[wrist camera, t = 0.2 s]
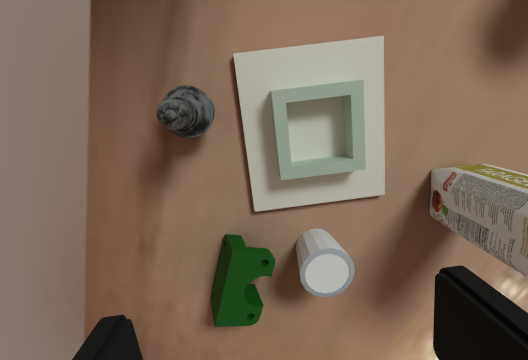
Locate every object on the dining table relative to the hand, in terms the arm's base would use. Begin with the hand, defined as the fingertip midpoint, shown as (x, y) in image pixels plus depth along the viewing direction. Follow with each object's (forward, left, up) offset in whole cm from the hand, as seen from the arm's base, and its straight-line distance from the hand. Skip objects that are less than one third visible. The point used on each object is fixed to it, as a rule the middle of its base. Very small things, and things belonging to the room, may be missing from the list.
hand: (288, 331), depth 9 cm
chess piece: (-7, -7, -31) cm, 32 cm away
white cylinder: (+14, +7, -31) cm, 34 cm away
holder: (-3, +8, -30) cm, 31 cm away
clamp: (+16, -4, -31) cm, 35 cm away
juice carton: (+8, +27, -31) cm, 41 cm away
